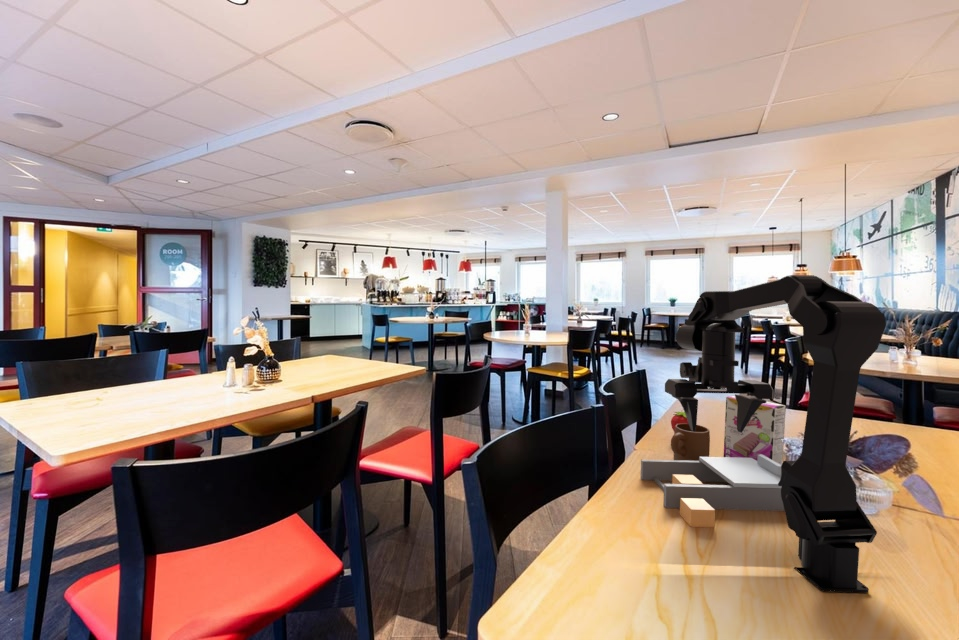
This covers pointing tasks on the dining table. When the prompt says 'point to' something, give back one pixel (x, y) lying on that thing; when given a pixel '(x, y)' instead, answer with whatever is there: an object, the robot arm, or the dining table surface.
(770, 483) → the lid
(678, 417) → the strawberry
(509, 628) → the dining table surface
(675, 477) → the orange block
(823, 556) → the robot arm
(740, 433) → the candy bar box
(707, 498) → the housing
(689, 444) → the mug
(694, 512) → the orange cube
